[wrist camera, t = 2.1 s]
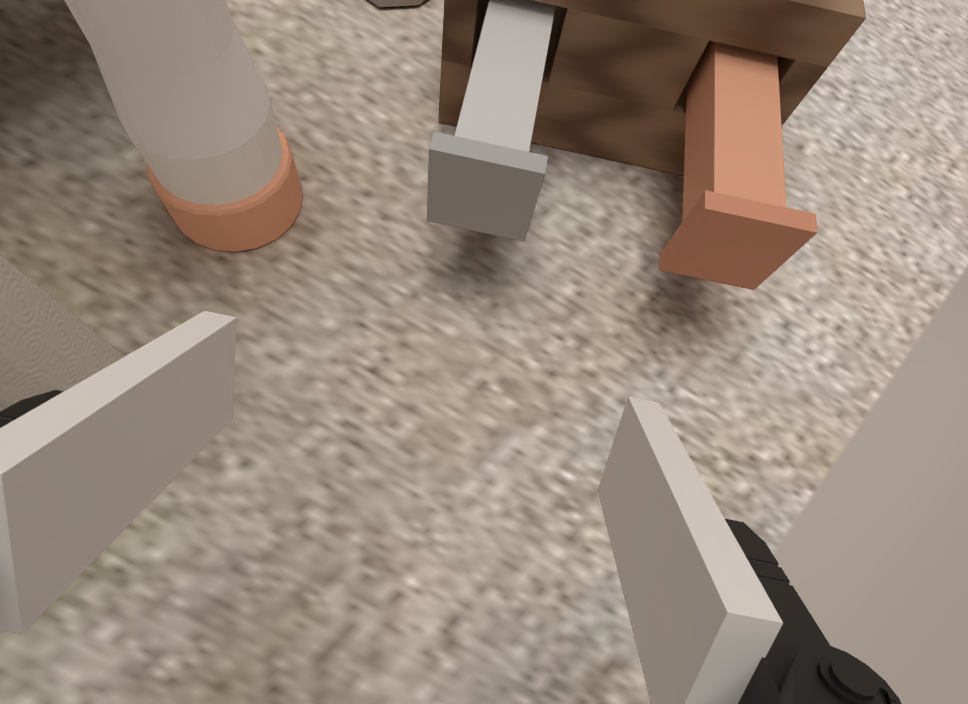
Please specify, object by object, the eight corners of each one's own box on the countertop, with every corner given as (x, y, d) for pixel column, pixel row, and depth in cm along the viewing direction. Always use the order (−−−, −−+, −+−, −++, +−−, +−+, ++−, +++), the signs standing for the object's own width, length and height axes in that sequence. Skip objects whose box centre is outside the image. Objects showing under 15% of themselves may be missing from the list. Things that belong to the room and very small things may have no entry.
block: (438, 122, 37) (448, -78, 26) (466, 21, 41) (485, -189, 30) (734, 186, 37) (866, 17, 27) (732, 80, 42) (846, -104, 31)
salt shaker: (175, 152, 34) (-85, -328, 16) (301, 148, 35) (187, -304, 17) (166, 256, 31) (-157, -186, 13) (304, 248, 32) (171, -168, 15)
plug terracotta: (658, 269, 29) (705, 208, 24) (668, 77, 34) (707, -3, 30) (753, 290, 29) (817, 232, 24) (748, 94, 35) (798, 18, 30)
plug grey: (426, 220, 28) (429, 148, 24) (475, 34, 34) (485, -54, 29) (524, 241, 28) (545, 173, 24) (556, 52, 34) (578, -32, 30)
